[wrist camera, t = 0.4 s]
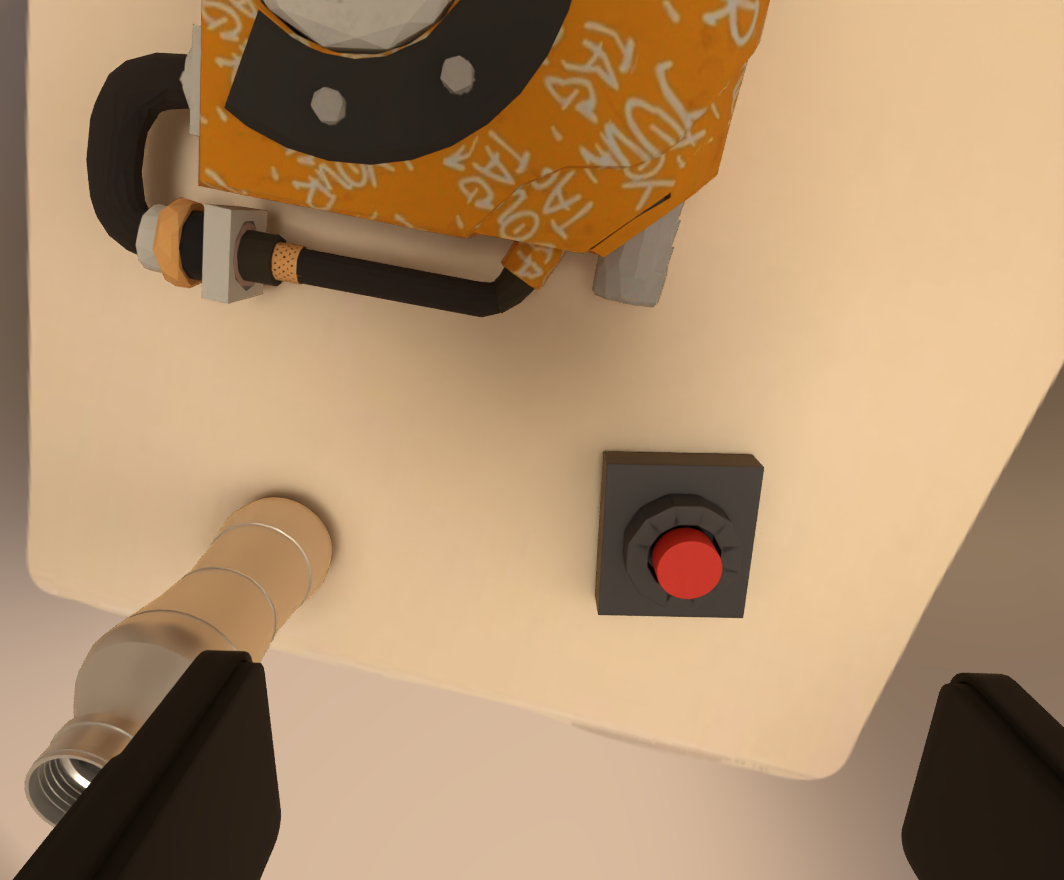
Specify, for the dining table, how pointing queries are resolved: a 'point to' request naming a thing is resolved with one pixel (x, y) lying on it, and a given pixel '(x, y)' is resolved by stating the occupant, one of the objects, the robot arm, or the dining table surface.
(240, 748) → the robot arm
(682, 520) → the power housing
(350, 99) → the device
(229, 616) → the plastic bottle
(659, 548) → the power button
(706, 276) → the dining table surface
